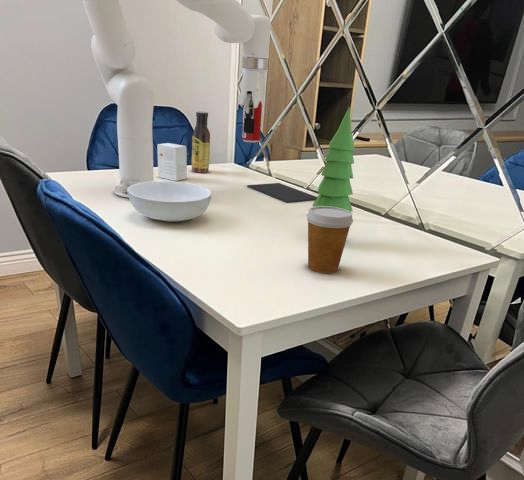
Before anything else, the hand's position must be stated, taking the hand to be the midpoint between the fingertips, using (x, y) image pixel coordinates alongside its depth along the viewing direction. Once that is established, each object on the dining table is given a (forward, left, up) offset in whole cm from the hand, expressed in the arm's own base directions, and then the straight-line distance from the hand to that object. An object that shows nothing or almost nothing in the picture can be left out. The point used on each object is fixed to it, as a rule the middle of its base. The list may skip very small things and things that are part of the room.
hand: (251, 131), depth 163 cm
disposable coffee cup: (-62, -34, -18) cm, 73 cm away
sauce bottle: (+18, +23, -18) cm, 34 cm away
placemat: (+2, -11, -18) cm, 21 cm away
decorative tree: (-42, -32, -18) cm, 56 cm away
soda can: (0, 0, -3) cm, 3 cm away
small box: (+2, +27, -18) cm, 32 cm away
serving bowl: (-42, +9, -18) cm, 47 cm away
